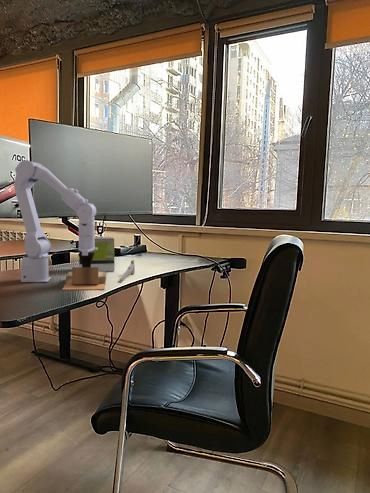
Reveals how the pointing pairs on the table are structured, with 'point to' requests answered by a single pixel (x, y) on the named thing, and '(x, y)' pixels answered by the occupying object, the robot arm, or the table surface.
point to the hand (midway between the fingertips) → (86, 272)
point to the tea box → (103, 254)
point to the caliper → (128, 271)
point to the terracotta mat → (84, 287)
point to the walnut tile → (85, 275)
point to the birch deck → (100, 278)
